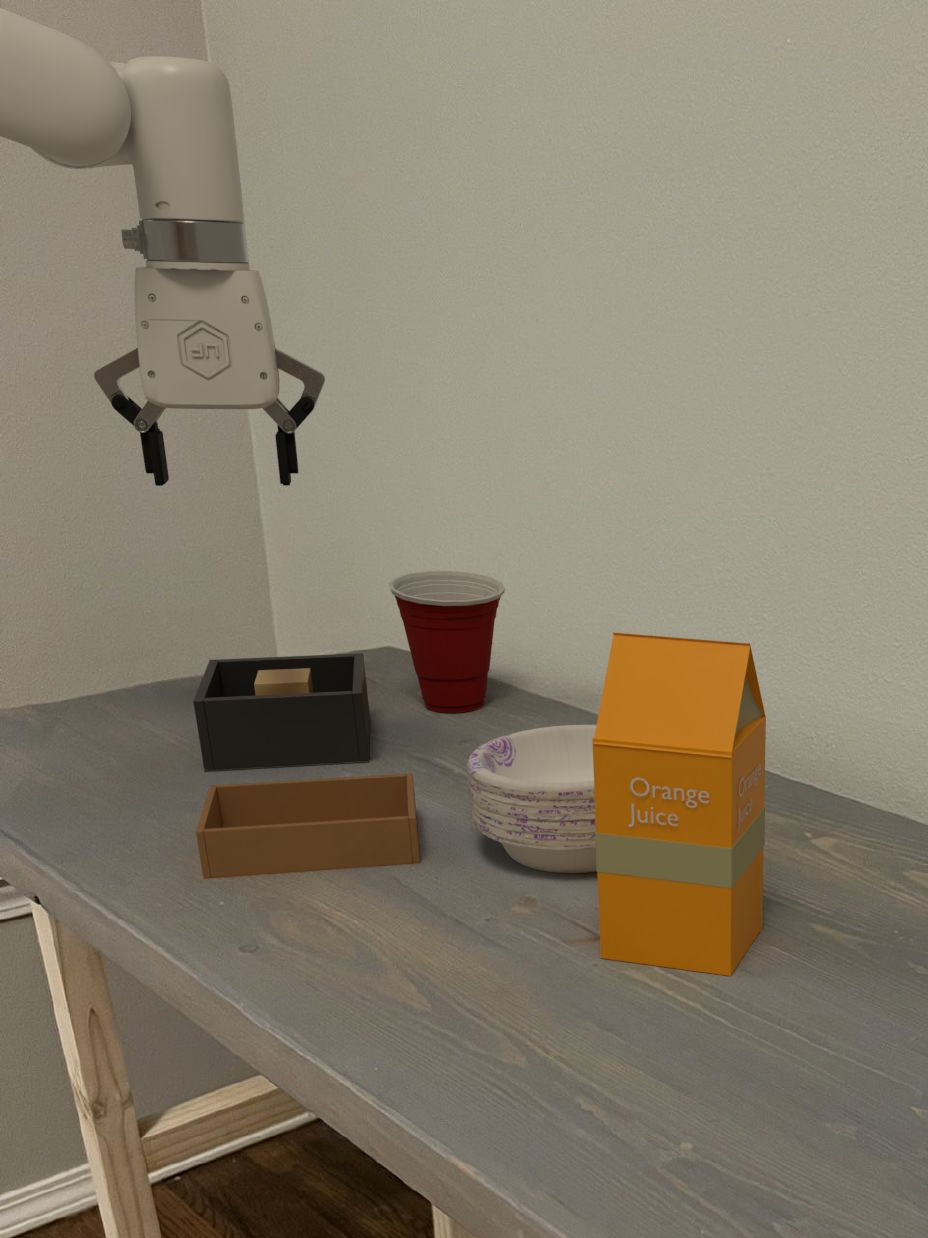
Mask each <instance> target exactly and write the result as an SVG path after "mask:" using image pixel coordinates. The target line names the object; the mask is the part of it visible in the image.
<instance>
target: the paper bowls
mask: <svg viewBox="0 0 928 1238" xmlns="http://www.w3.org/2000/svg"><path fill="white" fill-rule="evenodd" d="M596 726H597V724H565V725H564V724H563V725H552V726H545V727H538V728H532V729H526V730H521V731H517V732H512V733H508V734H506V735H502V736H499V737H496V738H493V739H492V740H490V741H487V742H485V743H483V744H481V745H479V746H478V747H476V748H475V750H473V752H471V754H470V755H469V757H468V759H467V761H466V769H467V779H468V780H467V785H468V793H469V801H470V803H469V804H470V806H469V807H470V809H471V810H470V811H471V817H472V822H473V825H474V827H475V829H476V830H478V832H480V833H481V834H482V835H483V836H486V837H487V838H489V839H491V840H493V841H496V842H499V843H501V845H502V847H503V848H504V850H505V851H506V854H508V856H509V857H510V858H511V859H512V860H514V861H515V862H517V863H518V864H520V865H521V866H524V867H527V868H530V869H533V870H538V871H542V872H546V873H547V872H549V873H554V874H555V873H558V874H585V873H586V874H587V873H595V872H596V873H597V870H596V844H595V833H596V821H595V794H594V768H593V741H592V738H594V737H595V731H596Z"/></svg>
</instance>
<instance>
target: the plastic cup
mask: <svg viewBox="0 0 928 1238" xmlns="http://www.w3.org/2000/svg"><path fill="white" fill-rule="evenodd" d="M388 587H389V589H390V592H391V595H393V596H394V598H395V601H396V605H397V607H398V611H399V614H400V617H401V620H402V623H403V627H404V631H405V635H406V640H407V643H408V648H409V652H410V655H411V660H412V664H413V668H414V672H415V674H416V676H417V680H418V683H419V688H420V693H421V696H422V699H423V702H424V705H425V706H426V709H427V710H430V711H432V712H438V713H445V714H446V713H448V714H453V713H454V714H457V713H466V712H467V713H468V712H471V711H475V710H478V709H481V708H483V706H484V705H485V699H486V697H487V688H488V678H489V677H488V676H489V671H490V667H491V658H492V657H491V656H492V648H493V639H494V629H495V620H496V618H497V612H498V608H499V605H500V600H501V597H502V596H503V595H504V594H505V591H506V587H505V585H504V584H503V582H502V581H500V580H498V579H496V578H493V577H491V576H488V575H483V574H480V573H479V574H478V573H474V572H465V571H456V570H426V571H418V572H410V573H406V574H403V575H399V576H396V577H394V578H393V579H392V580H391V581H389V582H388Z"/></svg>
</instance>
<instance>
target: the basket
mask: <svg viewBox="0 0 928 1238" xmlns="http://www.w3.org/2000/svg"><path fill="white" fill-rule="evenodd" d="M303 668H310V670H311V678H312V686H313V693H300V694H279V695H258V696H256V695H255V688H254V683H255V679H256V676H257V673H258V671H259V670H280V669H303ZM366 674H367V673H366V666H365V656H364V653H363V652H358V653H356V652H355V653H338V654H336V653H335V654H316V655H315V654H314V655H292V656H291V655H289V656H268V657H244V658H242V657H241V658H220V659H209V660H208V663H207V666H206V668H205V671H204V673H203V674H202V675H203V676H202V678H201V680H200V683H199V686H198V688H197V691H196V693H195V695H194V699H193V701H192V702H193V708H194V715H195V720H196V728H197V734H198V739H199V745H200V752H201V756H202V758H201V759H202V765H203V770H204V773H214V772H215V773H216V772H231V771H233V772H234V771H250V770H265V769H284V768H300V767H301V768H302V767H303V768H304V767H318V766H320V767H321V766H335V765H336V766H337V765H352V764H353V765H354V764H369V763H370V761H371V728H372V727H371V724H372V720H371V712H370V702H369V693H368V684H367V675H366Z"/></svg>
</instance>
